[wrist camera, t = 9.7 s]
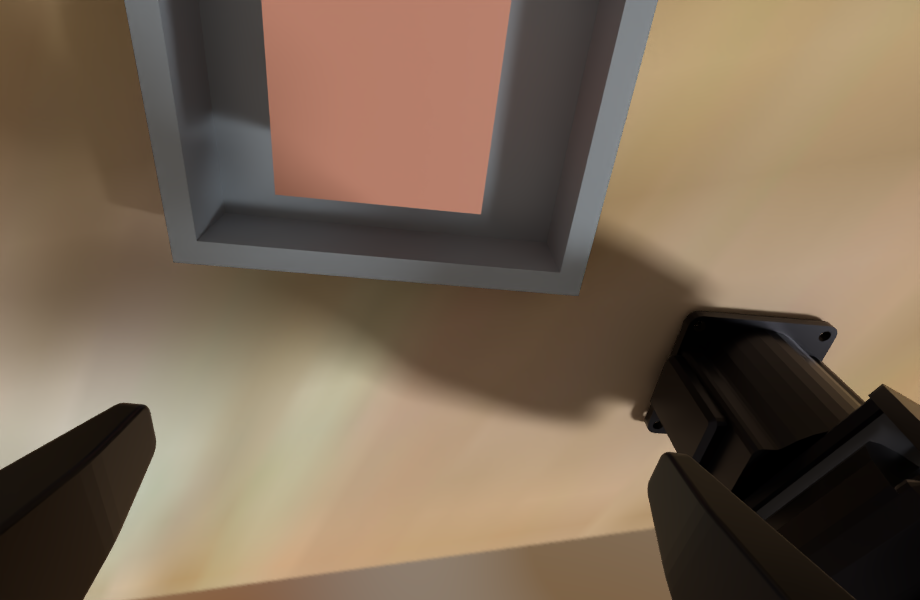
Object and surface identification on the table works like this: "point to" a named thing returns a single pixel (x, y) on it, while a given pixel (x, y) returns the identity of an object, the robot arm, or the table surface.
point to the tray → (381, 226)
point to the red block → (384, 99)
